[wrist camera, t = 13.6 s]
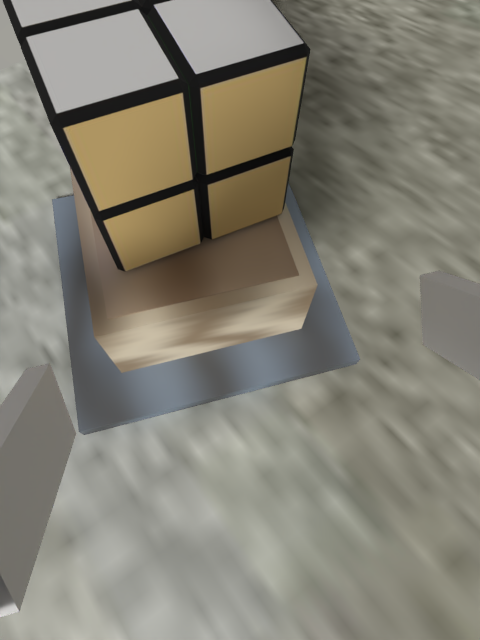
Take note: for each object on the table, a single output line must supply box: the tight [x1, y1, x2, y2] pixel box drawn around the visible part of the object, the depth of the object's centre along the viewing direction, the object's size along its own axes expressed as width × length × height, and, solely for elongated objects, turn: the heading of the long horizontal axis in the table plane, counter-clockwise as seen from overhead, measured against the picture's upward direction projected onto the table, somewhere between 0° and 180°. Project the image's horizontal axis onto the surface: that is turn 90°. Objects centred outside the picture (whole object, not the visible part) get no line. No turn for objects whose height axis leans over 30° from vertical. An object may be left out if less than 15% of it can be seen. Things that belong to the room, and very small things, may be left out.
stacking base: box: [52, 168, 360, 435], centre depth 28 cm, size 18×18×7 cm
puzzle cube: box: [3, 0, 310, 272], centre depth 22 cm, size 10×10×10 cm
